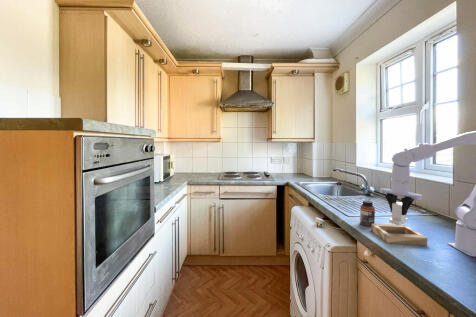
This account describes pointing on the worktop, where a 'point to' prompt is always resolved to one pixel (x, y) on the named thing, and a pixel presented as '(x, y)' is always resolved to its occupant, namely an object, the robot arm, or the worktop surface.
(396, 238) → the well block
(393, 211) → the stepped metal bar
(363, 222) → the supplement bottle
